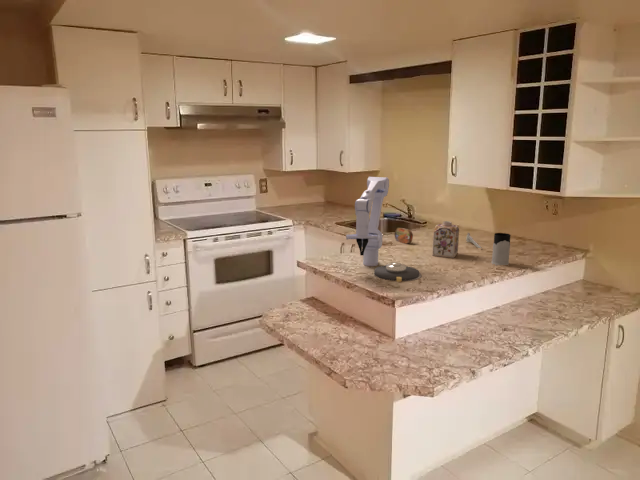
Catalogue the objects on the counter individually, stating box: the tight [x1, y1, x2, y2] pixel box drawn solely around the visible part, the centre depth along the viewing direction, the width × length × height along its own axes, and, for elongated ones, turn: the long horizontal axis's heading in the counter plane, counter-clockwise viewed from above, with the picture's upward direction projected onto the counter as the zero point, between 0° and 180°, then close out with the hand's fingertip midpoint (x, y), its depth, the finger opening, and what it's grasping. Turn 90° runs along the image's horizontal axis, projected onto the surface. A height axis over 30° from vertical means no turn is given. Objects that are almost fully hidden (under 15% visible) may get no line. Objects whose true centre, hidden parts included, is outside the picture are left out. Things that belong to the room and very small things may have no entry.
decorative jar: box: [431, 220, 460, 259], centre depth 263 cm, size 12×12×18 cm
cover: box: [385, 261, 407, 274], centre depth 222 cm, size 9×9×4 cm
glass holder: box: [490, 232, 512, 266], centre depth 248 cm, size 9×14×15 cm, turn 179°
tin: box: [394, 227, 414, 245], centre depth 295 cm, size 15×3×8 cm, turn 27°
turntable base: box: [375, 272, 422, 282], centre depth 223 cm, size 22×22×1 cm
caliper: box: [465, 232, 483, 249], centre depth 287 cm, size 20×1×6 cm, turn 7°
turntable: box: [373, 265, 420, 283], centre depth 221 cm, size 22×20×2 cm
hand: (361, 254), depth 225 cm, fingers closed
